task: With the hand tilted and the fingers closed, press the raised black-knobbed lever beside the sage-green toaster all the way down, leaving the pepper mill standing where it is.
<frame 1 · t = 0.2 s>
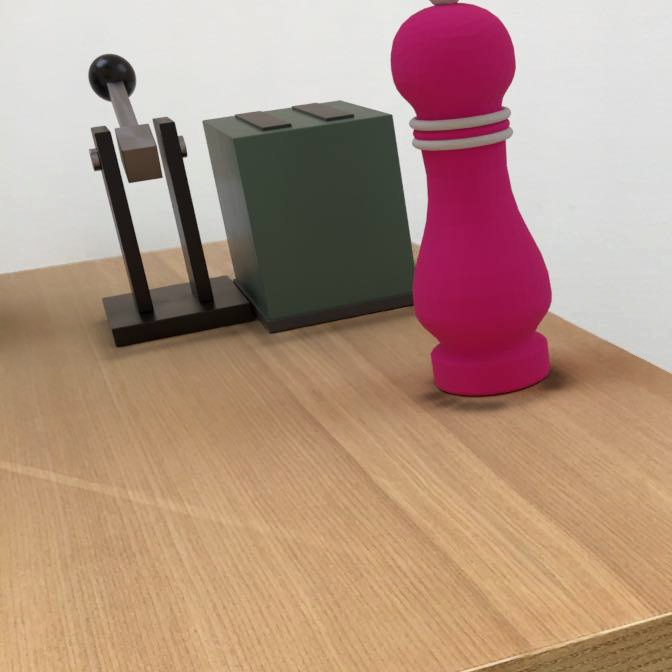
pepper mill: (493, 380, 66), on the table
bracket: (177, 317, 85), on the table
toaster: (324, 295, 86), on the table
lever: (124, 113, 83), point 13 cm above the table, hinge at 25.0°
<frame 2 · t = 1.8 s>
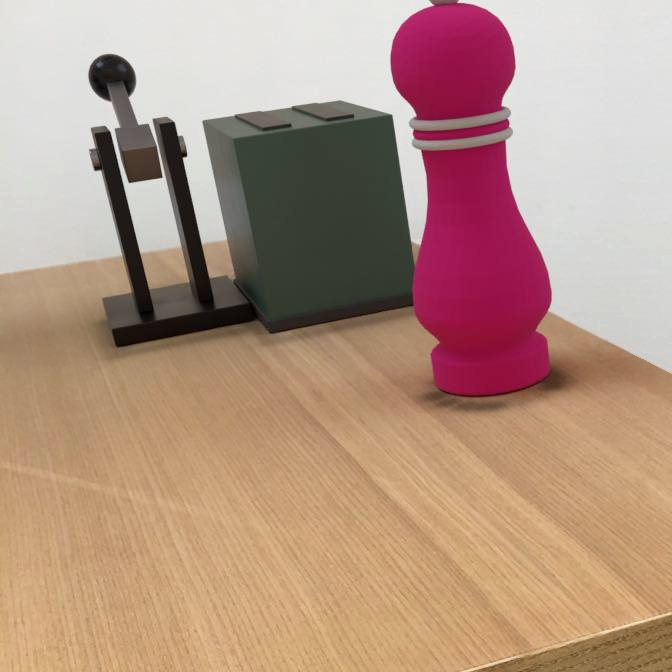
nothing on the table moved.
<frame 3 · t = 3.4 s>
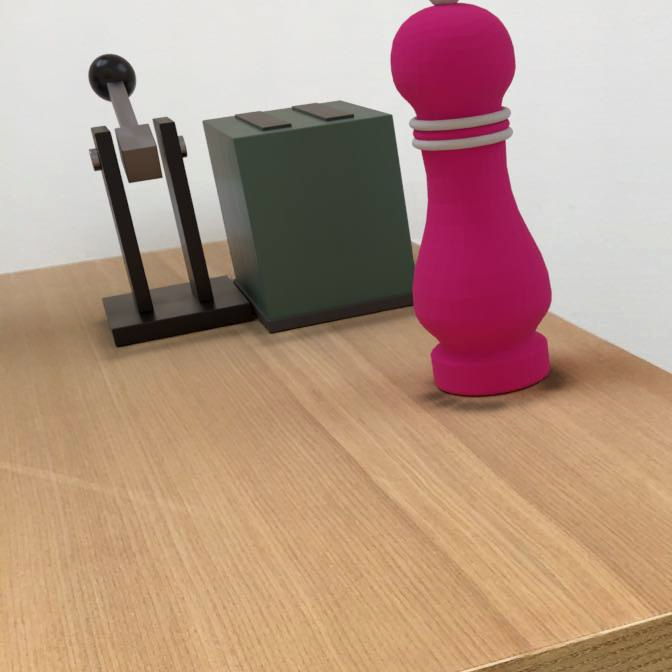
nothing on the table moved.
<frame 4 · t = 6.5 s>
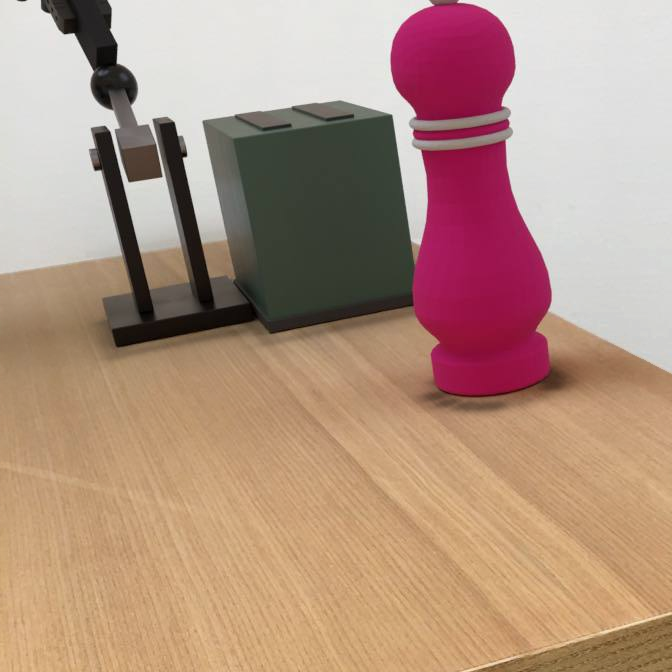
hand: (106, 60, 86), 16 cm above the table, tool tilted 45°, fingers closed
lever: (125, 118, 83), point 13 cm above the table, hinge at 21.2°, touching gripper
everything else where it was.
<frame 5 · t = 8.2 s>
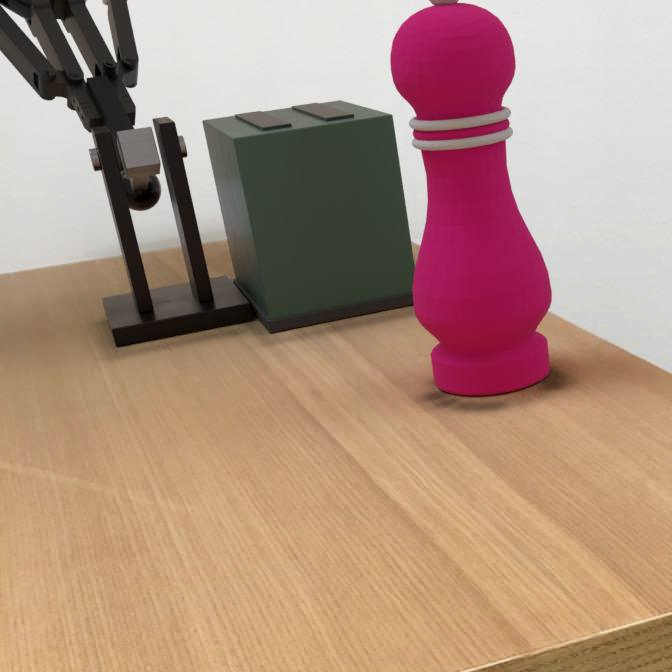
hand: (131, 157, 89), 10 cm above the table, tool tilted 45°, fingers closed
lever: (138, 172, 85), point 9 cm above the table, hinge at -19.9°, touching gripper
everything else where it was.
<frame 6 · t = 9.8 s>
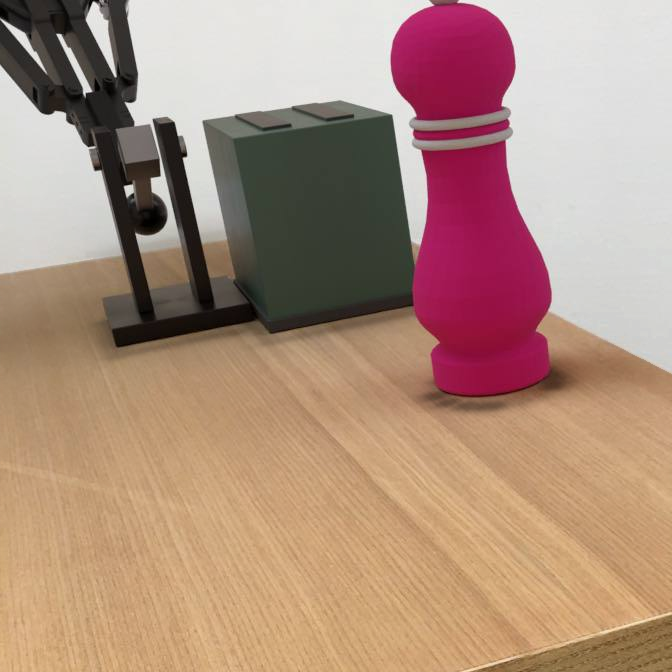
hand: (129, 172, 89), 9 cm above the table, tool tilted 45°, fingers closed
lever: (142, 185, 85), point 8 cm above the table, hinge at -30.5°
everything else where it was.
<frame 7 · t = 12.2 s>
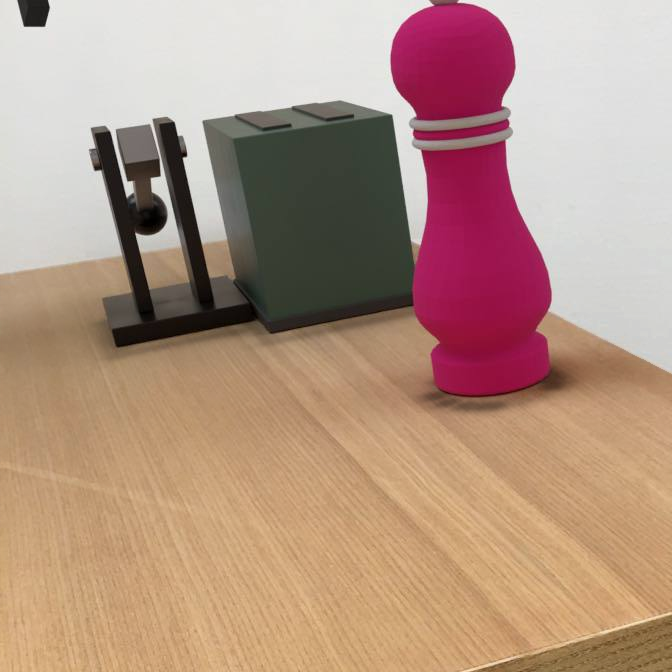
hand: (36, 17, 88), 20 cm above the table, tool tilted 30°, fingers closed
nothing on the table moved.
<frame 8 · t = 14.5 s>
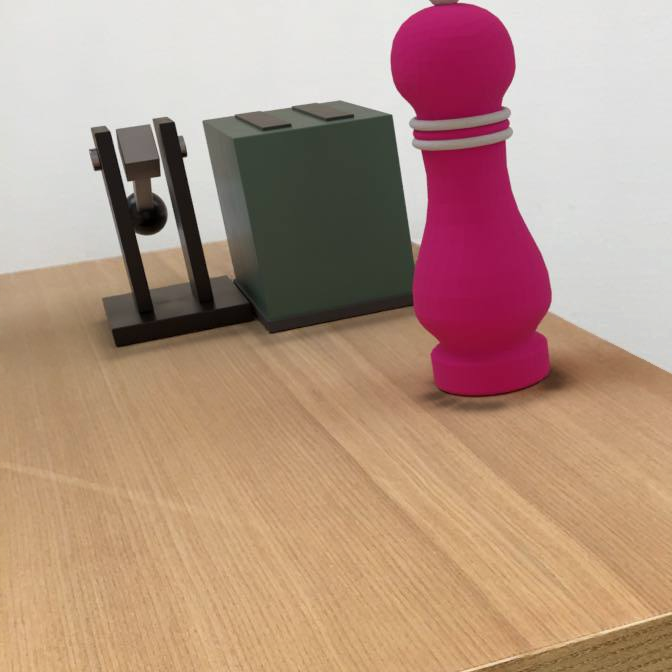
nothing on the table moved.
at the end: lever at -30° (first picture: +25°); pepper mill moved 0.2 cm from its start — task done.
